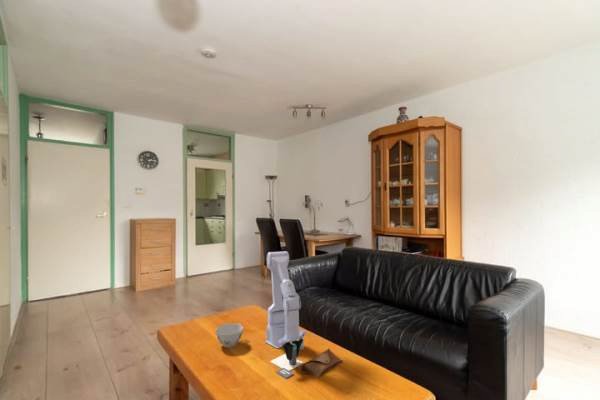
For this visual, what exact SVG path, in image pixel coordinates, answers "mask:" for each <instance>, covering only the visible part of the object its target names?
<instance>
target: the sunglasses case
mask: <svg viewBox="0 0 600 400" xmlns="http://www.w3.org/2000/svg"><path fill="white" fill-rule="evenodd" d="M342 362H343V360H342V359H340V358H339V357H338V356H337V355H336V354H335V353H334V352H333V351H332V350H331V349H330V348H327V349H326V350H325V351H323V352H321V353H319V354H317V355H316V356H314V357H312V358H311V359H309V360H308V361H306V362H303V364H302V365H301V371H302V373H304V374H306V375H308V376H311V377H314V378H316V379H319V378H321V377H322V376H323V375H324V374H325V373H326V372H328V371H329V370H330V369H333V368H334V367H335V366H337V365H338V364H340V363H342Z"/></svg>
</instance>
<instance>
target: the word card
mask: <svg viewBox="0 0 600 400" xmlns="http://www.w3.org/2000/svg"><path fill="white" fill-rule="evenodd" d="M275 373H276V374H277V375H279V376H281V377H283V378H284V379H285V380H286V379H289V378H290V377H293V376H294V372H292V371H288V370H287V369H285V368H282V369H281V368H280V369H279V370H277V371H275Z"/></svg>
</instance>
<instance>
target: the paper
mask: <svg viewBox="0 0 600 400" xmlns="http://www.w3.org/2000/svg"><path fill="white" fill-rule="evenodd" d="M269 362H270V363H271V364H273V365H274V366H276V367H278V368H280V369H282V368H285V369H287V370H288V371H290V372H292V370H294V369H295V368H297V367H299V366H302V365H303V364H304V362H303V361H301V360H299V359H297V363H296V364H295V365H291V364H289V360H288V359H287V357H286V353H284V354H282V355H280V356H277V357H276V358H273V359H272V360H270V361H269Z"/></svg>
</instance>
